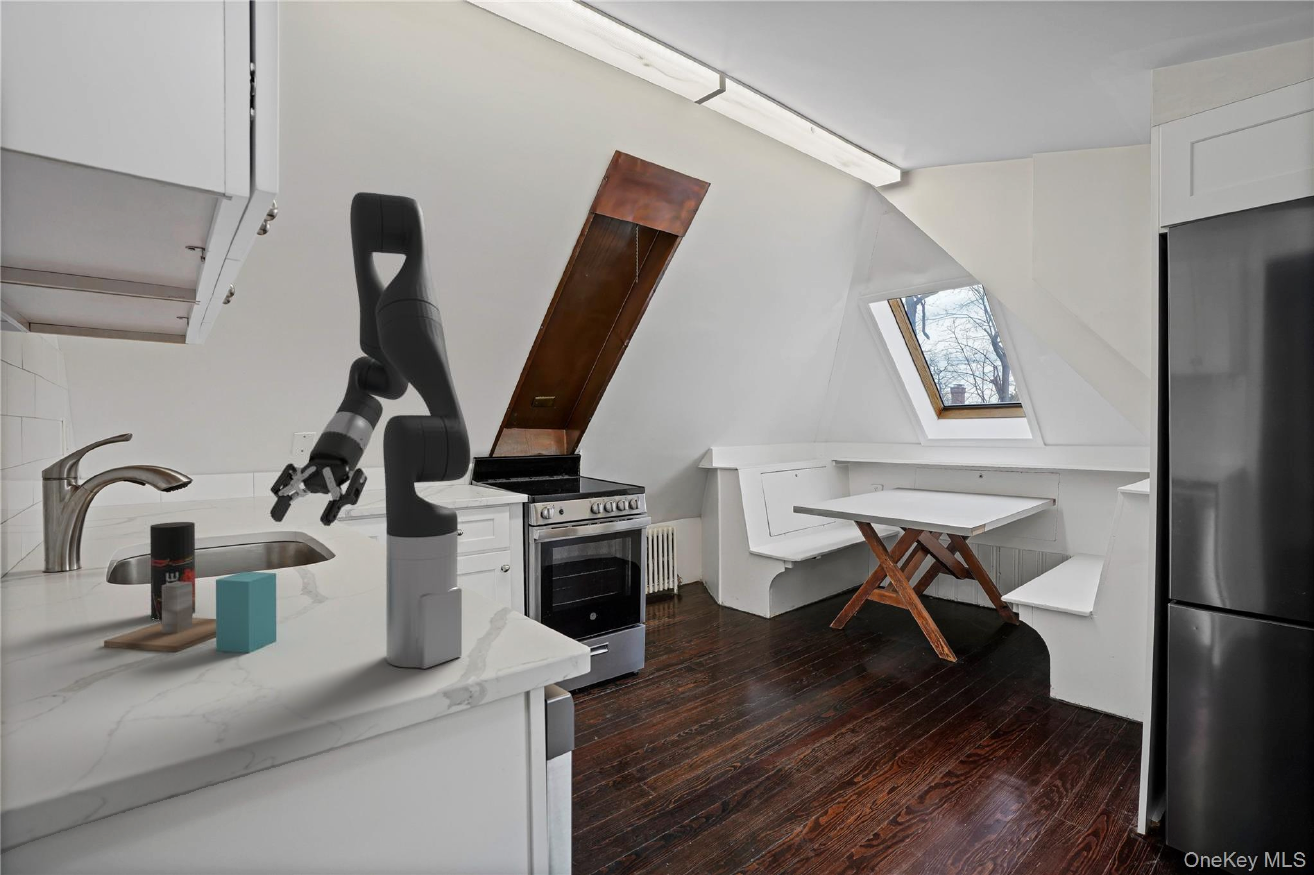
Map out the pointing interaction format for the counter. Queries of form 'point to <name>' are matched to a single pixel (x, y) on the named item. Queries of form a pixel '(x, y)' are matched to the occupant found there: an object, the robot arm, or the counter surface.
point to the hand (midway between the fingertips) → (299, 521)
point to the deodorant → (171, 560)
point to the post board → (165, 638)
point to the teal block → (245, 611)
